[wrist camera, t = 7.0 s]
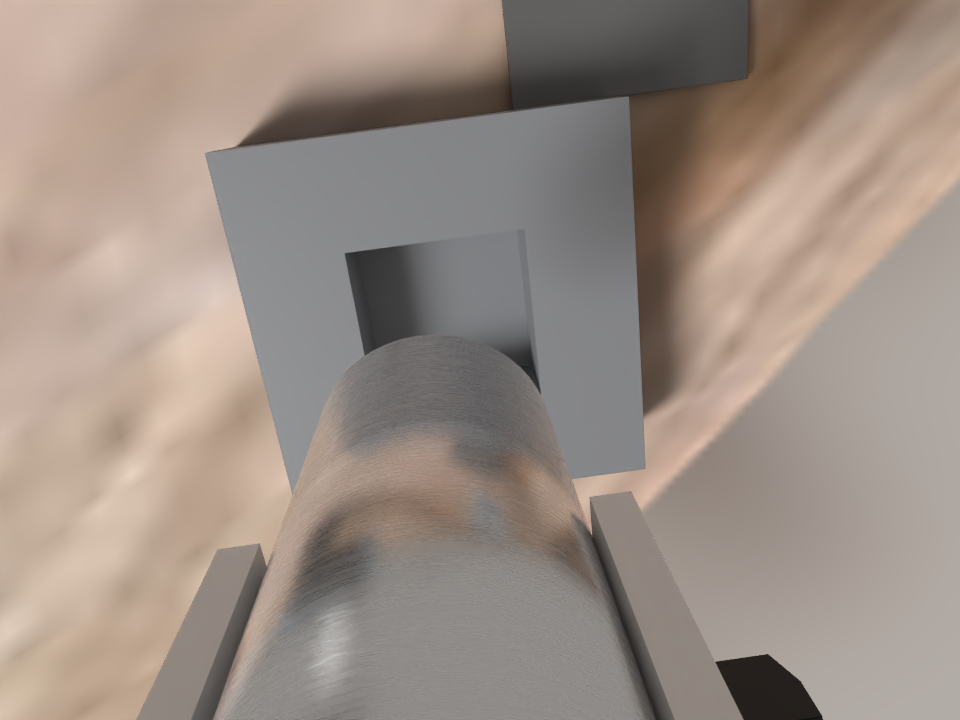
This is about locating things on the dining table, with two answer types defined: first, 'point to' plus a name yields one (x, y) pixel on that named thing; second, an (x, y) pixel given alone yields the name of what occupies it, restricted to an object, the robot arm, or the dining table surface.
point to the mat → (620, 47)
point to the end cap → (434, 560)
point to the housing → (448, 261)
